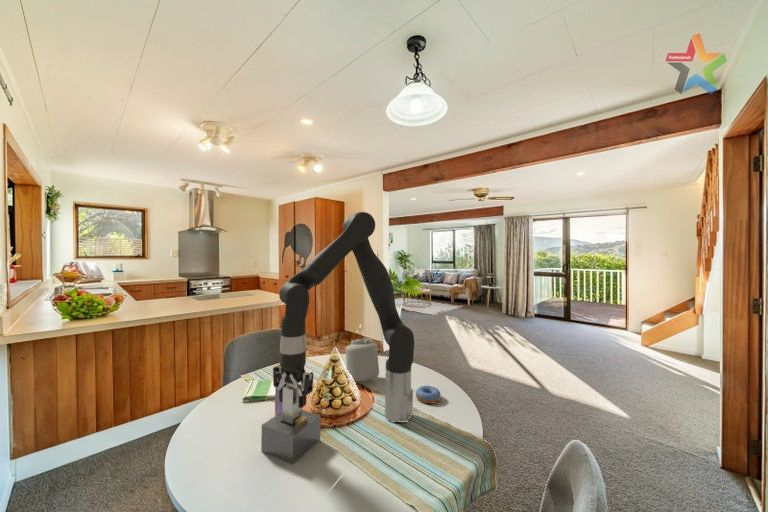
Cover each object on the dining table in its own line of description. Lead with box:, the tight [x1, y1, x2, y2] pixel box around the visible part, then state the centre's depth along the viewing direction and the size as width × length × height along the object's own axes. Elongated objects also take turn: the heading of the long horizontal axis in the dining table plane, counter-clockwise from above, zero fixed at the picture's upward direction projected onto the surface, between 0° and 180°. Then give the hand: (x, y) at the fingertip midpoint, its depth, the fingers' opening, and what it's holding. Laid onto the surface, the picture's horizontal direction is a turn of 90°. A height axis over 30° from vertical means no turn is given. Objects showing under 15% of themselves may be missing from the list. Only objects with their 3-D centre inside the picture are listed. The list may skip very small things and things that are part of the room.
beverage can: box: [274, 379, 290, 417], centre depth 106 cm, size 6×6×15 cm
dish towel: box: [241, 379, 303, 403], centre depth 125 cm, size 18×23×3 cm
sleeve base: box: [260, 409, 322, 466], centre depth 89 cm, size 12×12×9 cm
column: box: [282, 383, 303, 426], centre depth 89 cm, size 4×4×18 cm
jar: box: [345, 324, 380, 383], centre depth 138 cm, size 19×15×25 cm
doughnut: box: [415, 385, 442, 404], centre depth 120 cm, size 10×10×5 cm
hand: (292, 403), depth 89 cm, fingers open, 7 cm apart
